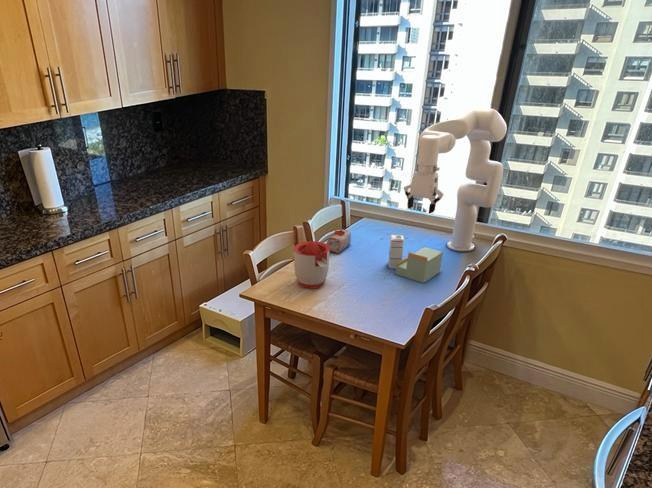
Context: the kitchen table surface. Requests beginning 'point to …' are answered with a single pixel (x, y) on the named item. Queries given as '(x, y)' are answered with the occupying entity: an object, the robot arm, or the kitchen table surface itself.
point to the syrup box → (395, 250)
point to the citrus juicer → (311, 263)
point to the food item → (339, 241)
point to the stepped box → (420, 265)
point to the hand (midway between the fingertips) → (420, 210)
